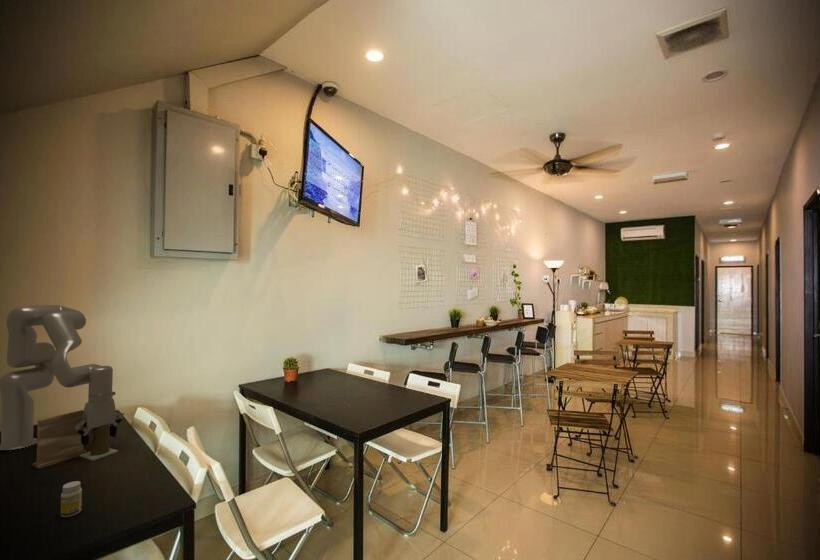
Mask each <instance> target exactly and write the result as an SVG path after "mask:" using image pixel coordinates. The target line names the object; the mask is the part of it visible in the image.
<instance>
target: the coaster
mask: <svg viewBox="0 0 820 560" xmlns="http://www.w3.org/2000/svg"><path fill="white" fill-rule="evenodd" d="M109 450H110V451H109V452H107V453H105V454H102V455H95V456H93V455H90V454H91V451H87V453H84V454H81V455H80V456H79V457H80V458H83V459H86V460H88V461H92V462H93V461H96V460H100V459H102V458H105V457H108V456H110V455H113V454H116V453H119V450H118V449H115V448H110V447H109Z"/></svg>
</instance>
